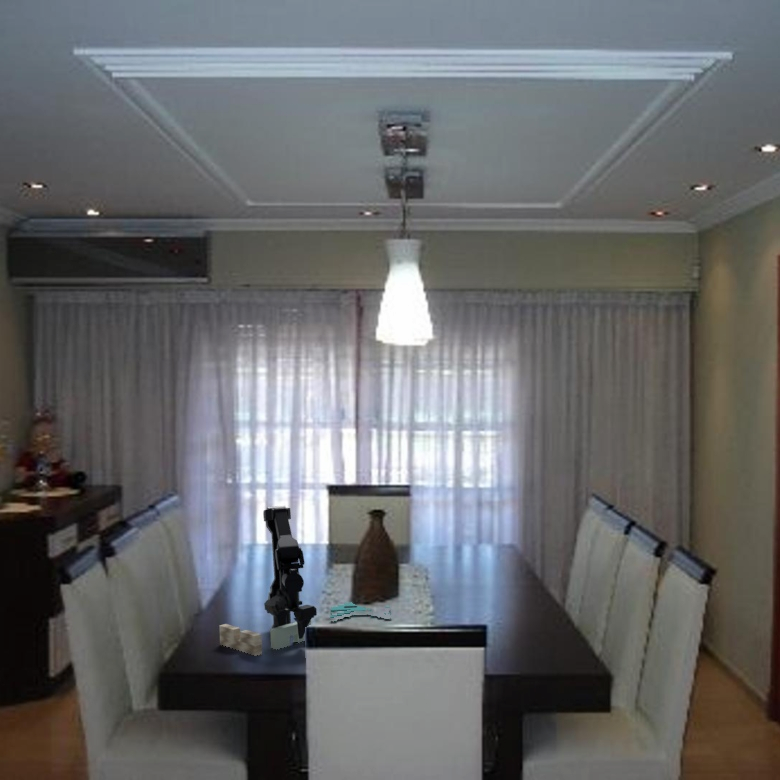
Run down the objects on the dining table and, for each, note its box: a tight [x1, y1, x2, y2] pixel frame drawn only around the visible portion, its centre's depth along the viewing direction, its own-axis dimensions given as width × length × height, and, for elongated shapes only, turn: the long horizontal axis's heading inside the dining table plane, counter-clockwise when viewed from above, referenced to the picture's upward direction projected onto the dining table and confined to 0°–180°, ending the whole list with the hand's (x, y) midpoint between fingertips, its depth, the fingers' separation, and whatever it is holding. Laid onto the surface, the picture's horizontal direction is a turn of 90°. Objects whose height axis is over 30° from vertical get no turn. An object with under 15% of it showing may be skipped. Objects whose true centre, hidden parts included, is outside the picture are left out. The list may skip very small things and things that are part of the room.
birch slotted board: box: [218, 623, 263, 657], centre depth 293 cm, size 18×2×6 cm, turn 45°
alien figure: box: [329, 601, 391, 619], centre depth 331 cm, size 20×2×20 cm
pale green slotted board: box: [270, 620, 312, 651], centre depth 297 cm, size 14×2×6 cm, turn 135°
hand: (291, 635), depth 297 cm, fingers open, 9 cm apart
